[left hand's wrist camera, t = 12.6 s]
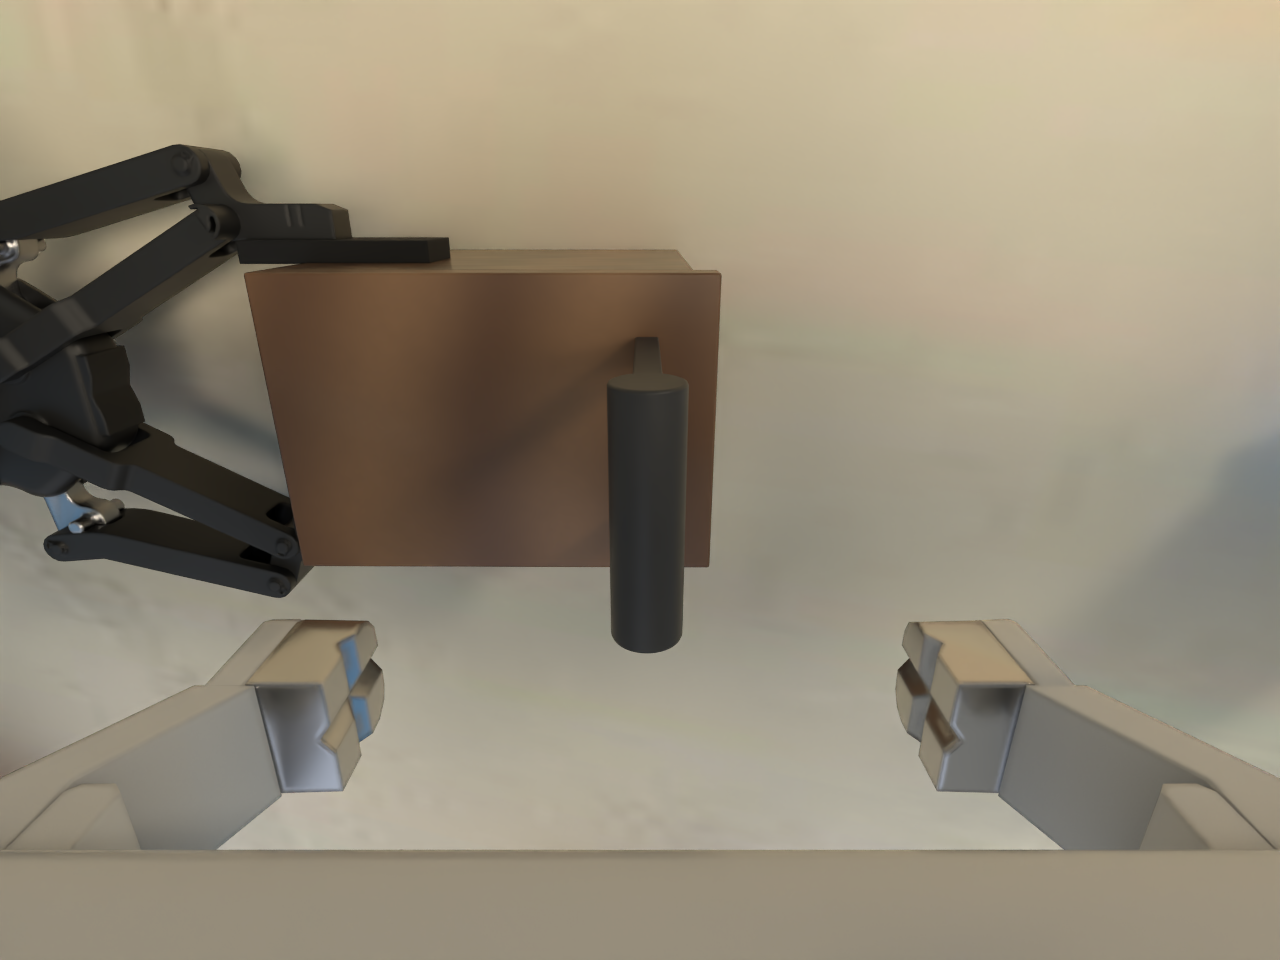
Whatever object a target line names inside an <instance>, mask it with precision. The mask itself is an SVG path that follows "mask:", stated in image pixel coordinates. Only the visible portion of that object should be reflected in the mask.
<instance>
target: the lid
mask: <svg viewBox="0 0 1280 960" xmlns="http://www.w3.org/2000/svg"><path fill="white" fill-rule="evenodd" d="M244 277H245V282H246V287H247V292H248V297H249V302H250V307H251V312H252V316H253V321H254V326H255V331H256V336H257V341H258V346H259V350H260V355H261V360H262V365H263V370H264V375H265V380H266V385H267V389H268V394H269V399H270V404H271V409H272V414H273V419H274V424H275V428H276V433H277V438H278V443H279V448H280V453H281V458H282V462H283V467H284V472H285V477H286V482H287V487H288V492H289V497H290V501H291V506H292V511H293V516H294V521H295V526H296V531H297V535H298V540H299V545H300V550H301V555H302V560H303V565H304V566H493V567H610V589H611V633H612V636H613V638H614V640H615V641H616V643H617V644H618V645H620V646H621V647H623V648H625V649H627V650H630V651H633V652H638V653H657V652H661V651H665V650H667V649H669V648H671V647H673V646H674V645H675V644H677V643H678V641H679V640H680V638H681V636H682V622H683V585H684V567H708V566H709V558H710V534H711V511H712V487H713V463H714V440H715V416H716V392H717V369H718V345H719V321H720V297H721V273H719V272H718V271H716V270H259V271H253V272H247V273H245V274H244Z"/></svg>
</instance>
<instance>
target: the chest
mask: <svg viewBox="0 0 1280 960" xmlns="http://www.w3.org/2000/svg"><path fill="white" fill-rule="evenodd" d="M450 257H451V258H448V259H444V260H440V261H436V262H432V263H303V264H297V265H291V266H284V267H278V268H272V269H265V270H692V268H691V267H690V266H689V264H688V263H687V262H686V261H685V259H684V258H683V257H682V256H681V254H680V253H679V252H678V251H677V250H450Z"/></svg>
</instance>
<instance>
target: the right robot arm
mask: <svg viewBox="0 0 1280 960" xmlns="http://www.w3.org/2000/svg"><path fill="white" fill-rule="evenodd" d="M240 178H241V168H240V164H239V162H238V161H237V159H236V158H235V157H234V156H233V155H232V154H230V153H229V152H226V151H223V150H217V149H209V148H202V147H195V146H188V145H181V144H179V145H171V146H168V147H165V148H162V149H159V150H156V151H153V152H150V153H147V154H144V155H141V156H137V157H134V158H131V159H128V160H125V161H122V162H119V163H116V164H113V165H110V166H107V167H103V168H100V169H97V170H94V171H91V172H88V173H85V174H82V175H79V176H76V177H73V178H70V179H66V180H63V181H60V182H57V183H54V184H51V185H48V186H45V187H42V188H39V189H36V190H33V191H29V192H26V193H23V194H20V195H17V196H14V197H11V198H8V199H5V200H2V201H1V200H0V485H7V486H12V487H15V488H18V489H21V490H23V491H25V492H27V493H30V494H32V495H35V496H40V497H44V499H45V501H46V504H47V506H48V508H49V510H50V513H51V515H52V517H53V519H54V522H55V524H56V526H57V529H58V531H57V532H55V533H53V534H51V535H50V536H48V537H47V538H46V539H45V540H44V544H43V545H44V549H45V551H46V552H47V554H48V555H49V556H51V557H52V558H53V559H56V560H58V561H77V560H91V559H109V560H113V561H117V562H122V563H126V564H130V565H135V566H139V567H144V568H148V569H152V570H157V571H161V572H166V573H170V574H174V575H179V576H183V577H187V578H192V579H196V580H201V581H205V582H209V583H214V584H218V585H223V586H227V587H231V588H236V589H240V590H244V591H249V592H253V593H258V594H262V595H266V596H271V597H276V598H282V597H285V596H286V595H287V594H289V593H290V592H291V590H292V589H293V588H294V587H295V586H296V585H297V584H298V583H299V582H300V581H301V580H302V579H303V578H304V577H305V575H306V574H307V573H308V572H309V571H310V570H311V569H312V568H313V567H314V566H304V565H303V560H302V555H301V550H300V545H299V540H298V535H297V531H296V526H295V521H294V516H293V511H292V506H291V501H290V498H288V497H286V496H284V495H282V494H280V493H278V492H276V491H273V490H271V489H269V488H267V487H265V486H263V485H260V484H258V483H256V482H254V481H252V480H250V479H248V478H245V477H243V476H241V475H239V474H237V473H235V472H232V471H230V470H228V469H226V468H224V467H222V466H219V465H217V464H215V463H213V462H211V461H209V460H207V459H204V458H202V457H200V456H198V455H196V454H194V453H191V452H189V451H187V450H185V449H183V448H181V447H179V446H177V445H175V443H174V438H173V437H172V436H170V435H168V434H166V433H164V432H162V431H160V430H158V429H156V428H153V427H151V426H149V425H147V424H145V423H143V422H145V419H144V415H143V412H142V408H141V405H140V402H139V400H138V399H137V397H136V395H135V393H134V391H133V390H132V388H131V386H130V365H129V361H128V358H127V354H126V350H125V347H124V346H117V345H116V343H115V342H114V339H115V338H117V337H118V336H120V335H121V334H123V333H124V332H126V331H127V330H129V329H130V328H132V327H133V326H135V325H136V324H138V323H139V322H141V321H142V317H143V316H144V315H146V314H147V313H149V312H150V311H152V310H153V309H155V308H156V307H158V306H159V305H161V304H162V303H164V302H165V301H167V300H168V299H170V298H171V297H173V296H174V295H176V294H177V293H179V292H180V291H182V290H183V289H185V288H186V287H188V286H189V285H191V284H193V283H194V282H196V281H197V280H199V279H200V278H202V277H203V276H205V275H206V274H208V273H209V272H211V271H212V270H214V269H215V268H217V267H218V266H220V265H221V264H223V263H224V262H226V261H227V260H229V259H230V258H232V257H233V256H235V255H236V254H238V256H239V261H240V264H303V263H432V262H436V261H440V260H444V259H448V258H451V257H450V247H449V238H352V235H351V228H350V221H349V214H348V210H346V209H344V208H342V207H339V206H337V205H334V204H264V203H261V202H258V201H257V200H255V199H254V198H252V197H251V195H250V194H249V193H248V192H247V190H246V189H245V187H244V185H243V183H242V182H241V180H240ZM190 199H192V201H193V203H194V204H192V205H189V208H190V209H197V210H196V211H194V212H193V213H191V214H190V215H188V216H187V217H186V218H184V219H183V220H181V221H180V222H178V223H177V224H175V225H174V226H172V227H171V228H169V229H168V230H167V231H165V232H164V233H162V234H161V235H159V236H158V237H156V238H155V239H153V240H152V241H151V242H149V243H148V244H146V245H145V246H143V247H142V248H140V249H139V250H137V251H136V252H134V253H133V254H132V255H130V256H129V257H127V258H126V259H124V260H123V261H121V262H120V263H118V264H117V265H116V266H114V267H113V268H111V269H110V270H108V271H107V272H105V273H104V274H102V275H101V276H100V277H98V278H97V279H95V280H94V281H92V282H91V283H89V284H88V285H86V286H85V287H83V288H82V289H81V290H79V291H78V292H76V293H75V294H73V295H72V296H70V297H68V298H65V299H63V300H60V301H57V300H55V299H53V298H52V297H50V296H48V295H47V294H45V293H44V292H42V291H40V290H39V289H37V288H35V287H34V286H32V285H30V284H29V283H27V282H25V281H23V280H21V279H19V278H17V269H18V267H19V265H20V264H22V263H23V262H27V261H32V260H34V259H35V258H36V257H37V256H38V254H39V252H42V251H44V250H45V249H46V242H45V240H44V239H51V238H63V237H70V236H74V235H78V234H81V233H85V232H88V231H91V230H94V229H97V228H100V227H104V226H107V225H110V224H113V223H116V222H120V221H123V220H126V219H129V218H132V217H135V216H139V215H142V214H145V213H148V212H151V211H155V210H158V209H161V208H164V207H167V206H171V205H174V204H177V203H180V202H183V201H186V200H190ZM87 481H88V482H90V483H92V484H95V485H97V486H99V487H101V488H104V489H107V490H128V491H131V492H133V493H135V494H138V495H140V496H142V497H144V498H146V499H149V500H151V501H153V502H155V503H158V504H160V505H162V506H164V507H167V508H169V509H171V510H173V511H176V512H178V513H180V514H182V515H184V516H187V517H189V518H191V519H193V520H191V519H187V518H183V517H179V516H174V515H170V514H166V513H162V512H157V511H152V510H147V509H137V508H125V507H124V504H123V502H122V501H121V500H119V499H112V500H111V501H109V500H107V499H101V498H97V497H94V496H92V495H91V494H89V493H88V492H87V490H86V489H85V487H84V486H83V484H84V483H86V482H87Z"/></svg>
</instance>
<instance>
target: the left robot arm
mask: <svg viewBox="0 0 1280 960" xmlns="http://www.w3.org/2000/svg"><path fill="white" fill-rule="evenodd" d="M377 646H378V643H377V638H376V633H375V628H374V626H373V625H372V624H371V623H370V622H369V621H345V620H300V619H286V620H269V621H265V622H263V623H262V624H261V625H260V626H259V627H258V628H257V630H256V631H255V632H254V633H253V634H252V635H251V636H250V637H249V638H248V639H247V640H246V641H245V643H244V644H243V645H242V646H241V647H240V648H239V649H238V650H237V651H236V652H235V653H234V654H233V656H232V657H231V658H230V659H229V660H228V661H227V662H226V663H225V664H224V665H223V666H222V667H221V669H220V670H219V671H218V672H217V673H216V674H215V675H214V676H213V677H212V678H211V679H210V680H209V682H208V683H207V684H206V685H198V686H192V687H190V688H188V689H186V690H184V691H181V692H179V693H177V694H175V695H173V696H171V697H169V698H167V699H165V700H163V701H161V702H158V703H156V704H154V705H152V706H150V707H148V708H146V709H144V710H142V711H140V712H138V713H135V714H133V715H131V716H129V717H127V718H125V719H123V720H121V721H119V722H117V723H115V724H112V725H110V726H108V727H106V728H104V729H102V730H100V731H98V732H96V733H94V734H92V735H89V736H87V737H85V738H83V739H81V740H79V741H77V742H75V743H73V744H71V745H69V746H66V747H64V748H62V749H60V750H58V751H56V752H54V753H52V754H50V755H48V756H46V757H43V758H41V759H39V760H37V761H35V762H33V763H31V764H29V765H27V766H25V767H23V768H20V769H18V770H16V771H14V772H12V773H10V774H8V775H6V776H4V777H2V778H0V960H1280V778H1278V777H1276V776H1274V775H1272V774H1269V773H1267V772H1265V771H1263V770H1261V769H1259V768H1257V767H1255V766H1253V765H1251V764H1249V763H1247V762H1244V761H1242V760H1240V759H1238V758H1236V757H1234V756H1232V755H1230V754H1228V753H1226V752H1224V751H1222V750H1219V749H1217V748H1215V747H1213V746H1211V745H1209V744H1207V743H1205V742H1203V741H1201V740H1199V739H1197V738H1194V737H1192V736H1190V735H1188V734H1186V733H1184V732H1182V731H1180V730H1178V729H1176V728H1174V727H1171V726H1169V725H1167V724H1165V723H1163V722H1161V721H1159V720H1157V719H1155V718H1153V717H1151V716H1149V715H1146V714H1144V713H1142V712H1140V711H1138V710H1136V709H1134V708H1132V707H1130V706H1128V705H1126V704H1124V703H1121V702H1119V701H1117V700H1115V699H1113V698H1111V697H1109V696H1107V695H1105V694H1103V693H1101V692H1099V691H1096V690H1094V689H1092V688H1090V687H1088V686H1082V685H1074V684H1073V683H1072V682H1071V680H1070V679H1069V678H1068V677H1067V676H1066V675H1065V674H1064V673H1063V672H1062V671H1061V670H1060V669H1059V667H1058V666H1057V665H1056V664H1055V663H1054V662H1053V661H1052V660H1051V659H1050V658H1049V657H1048V656H1047V654H1046V653H1045V652H1044V651H1043V650H1042V649H1041V648H1040V647H1039V646H1038V645H1037V644H1036V643H1035V641H1034V640H1033V639H1032V638H1031V637H1030V636H1029V635H1028V634H1027V633H1026V632H1025V631H1024V630H1023V628H1022V627H1021V626H1020V625H1019V624H1018V623H1017V622H1014V621H1012V620H1010V619H995V620H975V621H934V622H909V623H908V625H907V627H906V629H905V631H904V637H903V642H902V646H903V648H904V650H905V651H906V653H907V655H908V656H909V659H908V660H907V661H906V662H905V663H904V664H903V665H902V666H901V667H900V668H899V669H898V672H897V680H896V688H895V690H896V701H897V709H898V712H899V716H900V719H901V722H902V724H903V726H904V728H905V730H906V732H907V733H908V734H909V735H911V736H912V737H914V738H915V739H917V740H918V741H920V742H921V745H920V750H919V757H920V759H921V761H922V763H923V765H924V767H925V769H926V771H927V773H928V775H929V777H930V778H931V780H932V782H933V784H934V786H935V788H936V790H937V791H948V792H984V793H999V794H998V796H999V797H1000V798H1002V799H1003V800H1004V801H1005V802H1007V803H1008V804H1009V805H1010V806H1011V807H1013V808H1014V809H1015V810H1016V811H1017V812H1019V813H1020V814H1021V815H1022V816H1024V817H1025V818H1026V819H1027V820H1028V821H1030V822H1031V823H1032V824H1033V825H1035V826H1036V827H1037V828H1038V829H1039V830H1041V831H1042V832H1043V833H1044V834H1046V835H1047V836H1048V837H1049V838H1050V839H1052V840H1053V841H1054V842H1055V843H1057V844H1058V845H1059V846H1060V847H1061V848H1063V849H1064V850H216V849H218V848H219V847H220V846H221V845H222V844H224V843H225V842H226V841H227V840H229V839H230V838H231V837H232V836H233V835H235V834H236V833H237V832H238V831H240V830H241V829H242V828H243V827H244V826H246V825H247V824H248V823H249V822H251V821H252V820H253V819H254V818H255V817H257V816H258V815H259V814H260V813H262V812H263V811H264V810H265V809H266V808H268V807H269V806H270V805H271V804H273V803H274V802H275V801H276V800H277V799H279V798H280V797H281V793H296V792H331V791H343V790H344V788H345V786H346V784H347V782H348V780H349V779H350V777H351V775H352V773H353V771H354V769H355V767H356V765H357V763H358V761H359V759H360V757H361V750H360V745H359V742H360V741H362V740H363V739H365V738H366V737H368V736H369V735H371V734H372V733H373V732H374V730H375V728H376V726H377V723H378V721H379V719H380V716H381V711H382V707H383V702H384V679H383V672H382V669H381V668H380V667H379V666H378V665H377V664H376V663H375V662H374V661H373V660H372V659H371V656H372V655H373V653H374V651H375V650H376V648H377Z"/></svg>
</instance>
